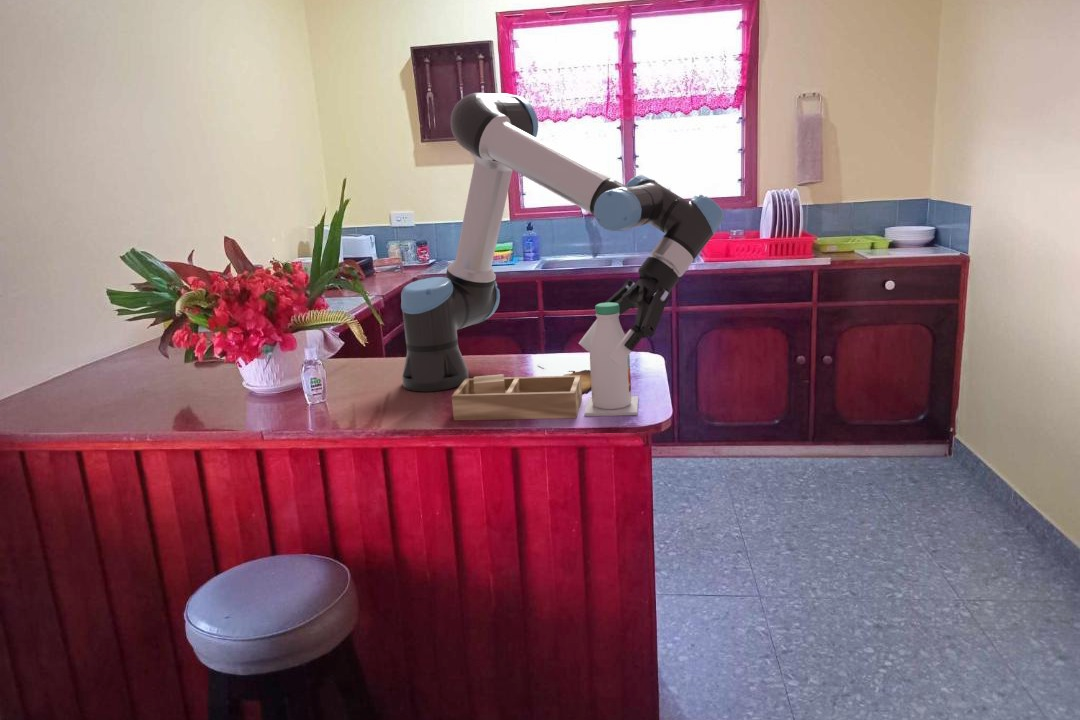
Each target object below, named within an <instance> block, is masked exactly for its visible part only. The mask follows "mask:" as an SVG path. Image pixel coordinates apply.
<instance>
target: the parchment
mask: <svg viewBox="0 0 1080 720" xmlns="http://www.w3.org/2000/svg"><path fill="white" fill-rule="evenodd" d="M568 372H570V373H568ZM577 375H581V391H582V396H583V395H585V394H587V393H588V391H589V389H591V371H590V369H584V370H580V371H579V370H578V371H576V370H568V371H567V373H566V374H563V375H562V376H577Z"/></svg>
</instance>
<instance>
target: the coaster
mask: <svg viewBox="0 0 1080 720" xmlns="http://www.w3.org/2000/svg"><path fill="white" fill-rule="evenodd" d="M638 408H639V395H631V403H630V405H628V406H627V407H624V408H619V409H601V408H597V407H595V406H594V405H593V403H592V396H589V397H588V398H587V402H586V406H585V410H584V417H601V416H603V417H606V416H610V417H611V416H612V417H613V416H638Z"/></svg>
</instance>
